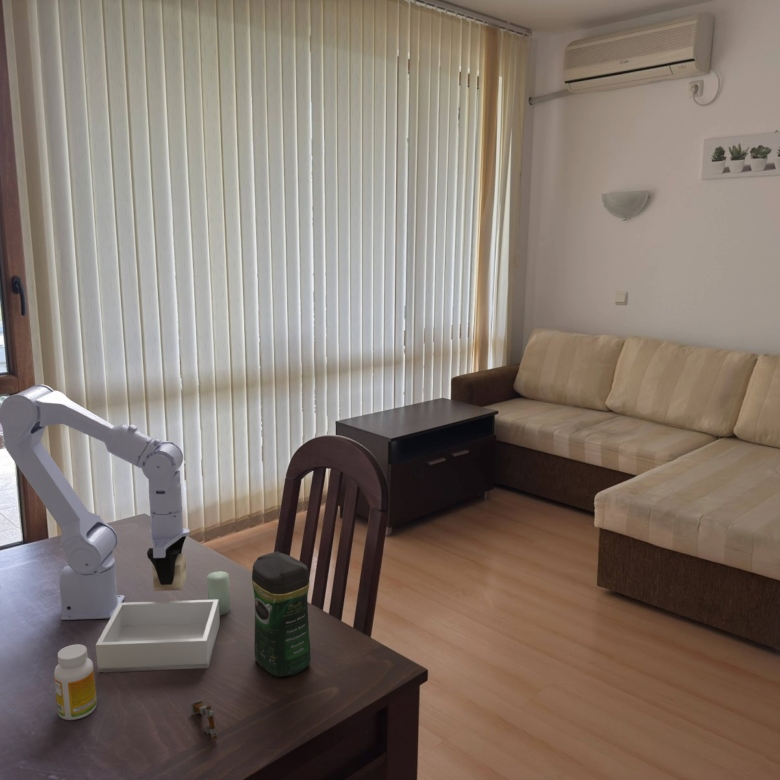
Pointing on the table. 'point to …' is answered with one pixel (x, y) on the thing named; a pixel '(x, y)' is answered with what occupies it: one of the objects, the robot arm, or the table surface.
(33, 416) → the robot arm
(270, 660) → the coffee jar
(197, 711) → the wooden post with brackets
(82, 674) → the supplement bottle
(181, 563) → the maple cube
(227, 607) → the sage cylinder
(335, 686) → the table surface
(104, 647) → the tote
